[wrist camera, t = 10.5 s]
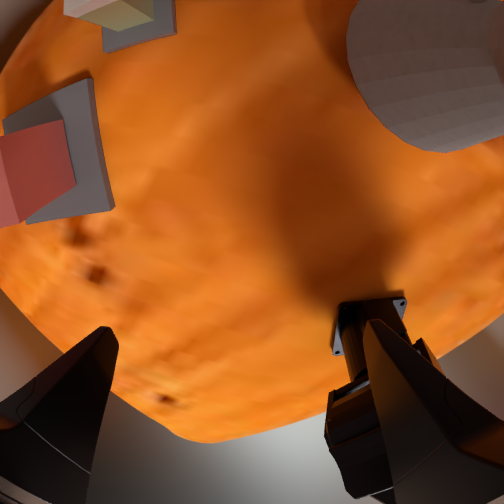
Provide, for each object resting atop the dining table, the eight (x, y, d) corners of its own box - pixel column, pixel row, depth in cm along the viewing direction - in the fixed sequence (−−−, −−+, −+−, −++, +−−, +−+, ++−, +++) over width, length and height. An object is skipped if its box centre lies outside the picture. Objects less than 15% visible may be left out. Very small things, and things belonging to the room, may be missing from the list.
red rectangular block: (76, 185, 18) (20, 223, 12) (33, 197, 18) (-19, 232, 13) (62, 119, 15) (-2, 137, 10) (20, 138, 16) (-39, 161, 10)
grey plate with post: (115, 206, 20) (65, 252, 14) (31, 221, 21) (-17, 259, 14) (92, 78, 15) (26, 80, 9) (8, 118, 16) (-50, 137, 10)
